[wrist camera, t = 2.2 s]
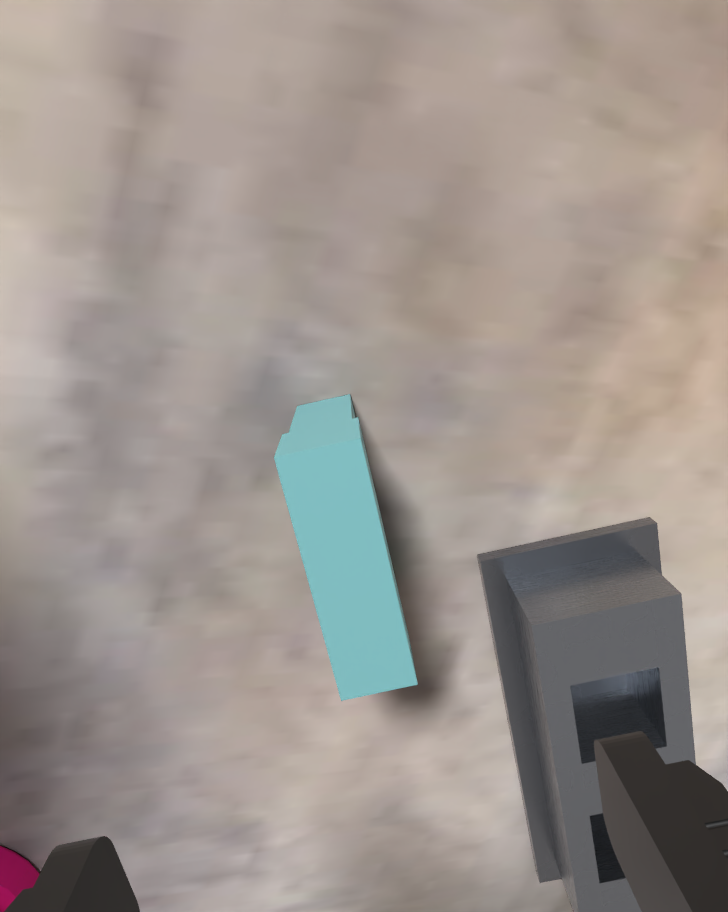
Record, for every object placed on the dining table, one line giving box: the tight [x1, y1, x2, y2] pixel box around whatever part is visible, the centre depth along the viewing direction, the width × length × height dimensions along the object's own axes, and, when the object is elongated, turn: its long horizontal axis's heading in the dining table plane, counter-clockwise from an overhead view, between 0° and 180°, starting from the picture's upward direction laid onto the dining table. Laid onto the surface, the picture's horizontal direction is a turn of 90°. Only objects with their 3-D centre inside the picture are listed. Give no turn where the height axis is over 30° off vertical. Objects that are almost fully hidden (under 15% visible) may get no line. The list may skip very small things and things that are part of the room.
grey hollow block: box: [477, 517, 696, 912], centre depth 26 cm, size 17×7×4 cm, turn 13°
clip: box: [274, 394, 418, 701], centre depth 21 cm, size 8×2×6 cm, turn 13°
